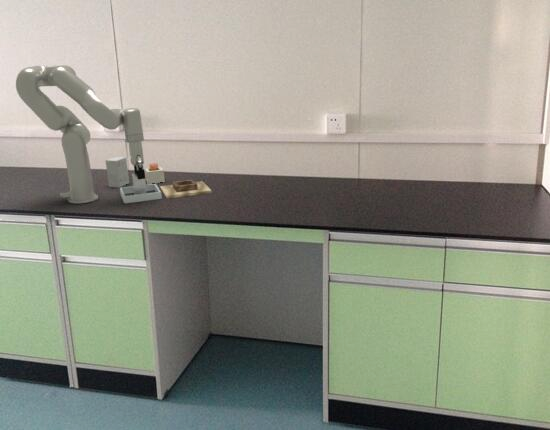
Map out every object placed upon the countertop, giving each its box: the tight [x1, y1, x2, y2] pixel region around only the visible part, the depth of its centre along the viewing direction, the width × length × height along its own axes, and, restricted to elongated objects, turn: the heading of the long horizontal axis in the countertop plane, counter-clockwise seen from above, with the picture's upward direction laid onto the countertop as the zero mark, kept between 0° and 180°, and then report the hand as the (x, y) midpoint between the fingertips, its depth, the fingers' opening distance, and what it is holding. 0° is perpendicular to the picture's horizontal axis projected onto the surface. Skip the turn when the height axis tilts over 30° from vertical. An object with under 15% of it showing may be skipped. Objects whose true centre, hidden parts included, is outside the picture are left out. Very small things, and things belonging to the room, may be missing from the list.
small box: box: [104, 156, 130, 189], centre depth 262 cm, size 8×6×13 cm
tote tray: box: [119, 183, 163, 204], centre depth 243 cm, size 16×16×3 cm
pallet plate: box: [159, 178, 212, 200], centre depth 250 cm, size 20×18×4 cm
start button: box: [148, 162, 159, 171], centre depth 266 cm, size 4×4×3 cm
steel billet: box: [131, 173, 148, 195], centre depth 242 cm, size 5×5×10 cm
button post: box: [144, 166, 165, 185], centre depth 267 cm, size 8×8×6 cm
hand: (140, 176), depth 241 cm, fingers open, 9 cm apart
